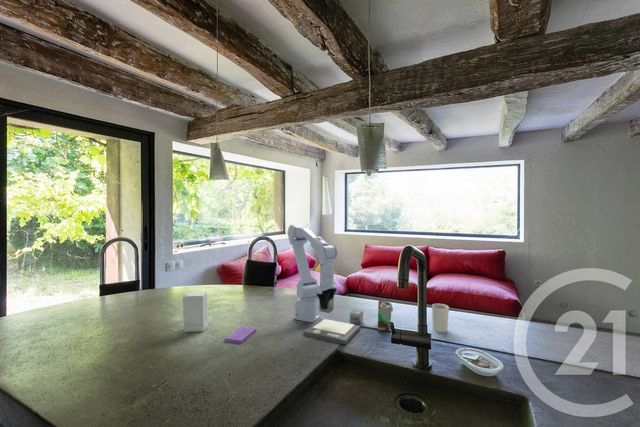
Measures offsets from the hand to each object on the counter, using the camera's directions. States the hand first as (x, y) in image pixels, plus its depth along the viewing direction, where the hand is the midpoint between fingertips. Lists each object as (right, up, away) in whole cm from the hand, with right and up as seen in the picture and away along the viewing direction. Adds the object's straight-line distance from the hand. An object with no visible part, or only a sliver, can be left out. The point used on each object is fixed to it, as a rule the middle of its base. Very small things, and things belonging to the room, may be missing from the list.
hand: (326, 307), depth 128 cm
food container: (+25, -10, +3) cm, 27 cm away
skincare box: (-54, -9, -2) cm, 55 cm away
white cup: (+48, -10, +1) cm, 49 cm away
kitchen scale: (+2, -10, -3) cm, 10 cm away
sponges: (-34, -10, -7) cm, 36 cm away
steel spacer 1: (0, -1, 0) cm, 1 cm away
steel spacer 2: (+14, -10, +8) cm, 19 cm away
